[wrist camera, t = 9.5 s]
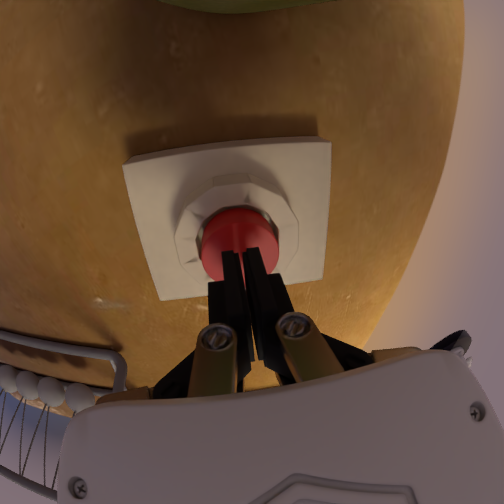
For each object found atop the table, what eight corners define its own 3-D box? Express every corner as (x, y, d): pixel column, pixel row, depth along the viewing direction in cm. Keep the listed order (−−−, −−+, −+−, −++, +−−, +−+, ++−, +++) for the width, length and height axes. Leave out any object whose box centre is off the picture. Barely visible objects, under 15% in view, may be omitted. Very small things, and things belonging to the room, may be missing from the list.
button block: (318, 136, 16) (346, 147, 13) (313, 262, 22) (331, 295, 18) (131, 156, 15) (110, 173, 12) (163, 282, 21) (157, 319, 17)
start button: (271, 203, 14) (279, 217, 13) (273, 264, 17) (279, 282, 15) (196, 212, 14) (195, 227, 13) (207, 273, 16) (207, 292, 15)
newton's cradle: (129, 349, 24) (113, 518, 10) (147, 396, 30) (145, 521, 15) (-41, 316, 19) (-82, 409, 4) (-11, 361, 24) (-37, 447, 10)
